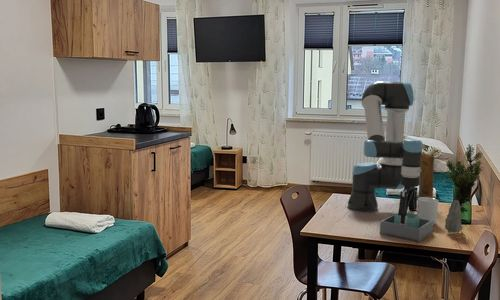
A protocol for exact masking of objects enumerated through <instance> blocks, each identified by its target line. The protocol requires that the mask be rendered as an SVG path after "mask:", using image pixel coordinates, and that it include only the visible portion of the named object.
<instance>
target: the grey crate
mask: <svg viewBox="0 0 500 300" xmlns="http://www.w3.org/2000/svg"><path fill="white" fill-rule="evenodd" d="M396 214H397V213H394V214H392V215H390V216H387V217H385V218H384V219H382V220H380V224H379V234H381V235H385V236H389V237H393V238H398V239H401V240H402V239H403V240H406V241H410V242H411V241H412V242H416V243H420V242H421V241H423V240H424V239H425V238H427V237H428V236H430V235H432V233H433V229H434V228H433V226H434V224H433V221H432V220H427V219H422V218H420V222H419V228H415V227H410V226H405V225H400V224H395V223H394V218H395V215H396Z"/></svg>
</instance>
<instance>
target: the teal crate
mask: <svg viewBox="0 0 500 300" xmlns="http://www.w3.org/2000/svg"><path fill="white" fill-rule="evenodd" d="M395 214H396V215H395V218H394V223H395V224H400V215H398V213H395ZM406 216H407V226H410V227H415V228H419V222H420V215H417V213H415V214H411V213H408V212H407V215H406Z"/></svg>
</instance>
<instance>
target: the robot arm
mask: <svg viewBox="0 0 500 300" xmlns="http://www.w3.org/2000/svg"><path fill="white" fill-rule="evenodd" d="M413 105H414V90H413V87H412V84H411V83H410V82H407V81H374V82H373V83H371V84H370V85H368V86H367V87H366V88H365V90H364V92H363V93H362V96H361V106H362V108H363V109H364V116H365V118H364V119H365V125H366V134H367V135H366V136H367V139H366V140H364V142H363V154H364V156H365V157H367V158H374V159H375V158H376V159H377V158H383V160H382V161H381V163H380V165H378V164H377V162H371V161H369V162H367V161H366V162H360V163H359V162H358V163H356V164H355V165H353V168H352V183H351V184H352V186H351V189H352V190H351V194H350V196H349V199H348V201H347V207H348V208H349V209H351V210H354V211H360V212H374V211H377V210H378V209H379V208H378V207H379V205H378V200H377V196H376V189H377V190H378V189H381V190H384V189H385V190H393V191H395V190H401V191H400V195H399V197H400V199H399V205H398V212H397V214H398V215H400V225H405V226H407V216H406V215H407V213H411V214H416V213H417V204H418V191H419V182H420V177H419V176H420V172H421V169H420V166H421V154H422V151H423V141H422V140H421V139H414V138H409V139H408V138H406V139H404V137H405V122H406V112H408V111H409V110H410V107H412V106H413ZM382 106H384V110H385V111H386V112H387V114H386V115H387V116H386V129H384V121H383V116H382V115H383V114H382V108H381V107H382ZM385 130H386V133H385ZM402 189H403V190H402Z"/></svg>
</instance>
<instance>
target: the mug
mask: <svg viewBox="0 0 500 300" xmlns="http://www.w3.org/2000/svg"><path fill="white" fill-rule="evenodd" d="M438 208H439V199H437V198H434V197H433V198H429V197H420V198H418V197H417V209H416V210H417V212H416V215H420V218H422V219H427V220H432V221H433V225H435V224H436V223H437V221H438Z"/></svg>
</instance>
